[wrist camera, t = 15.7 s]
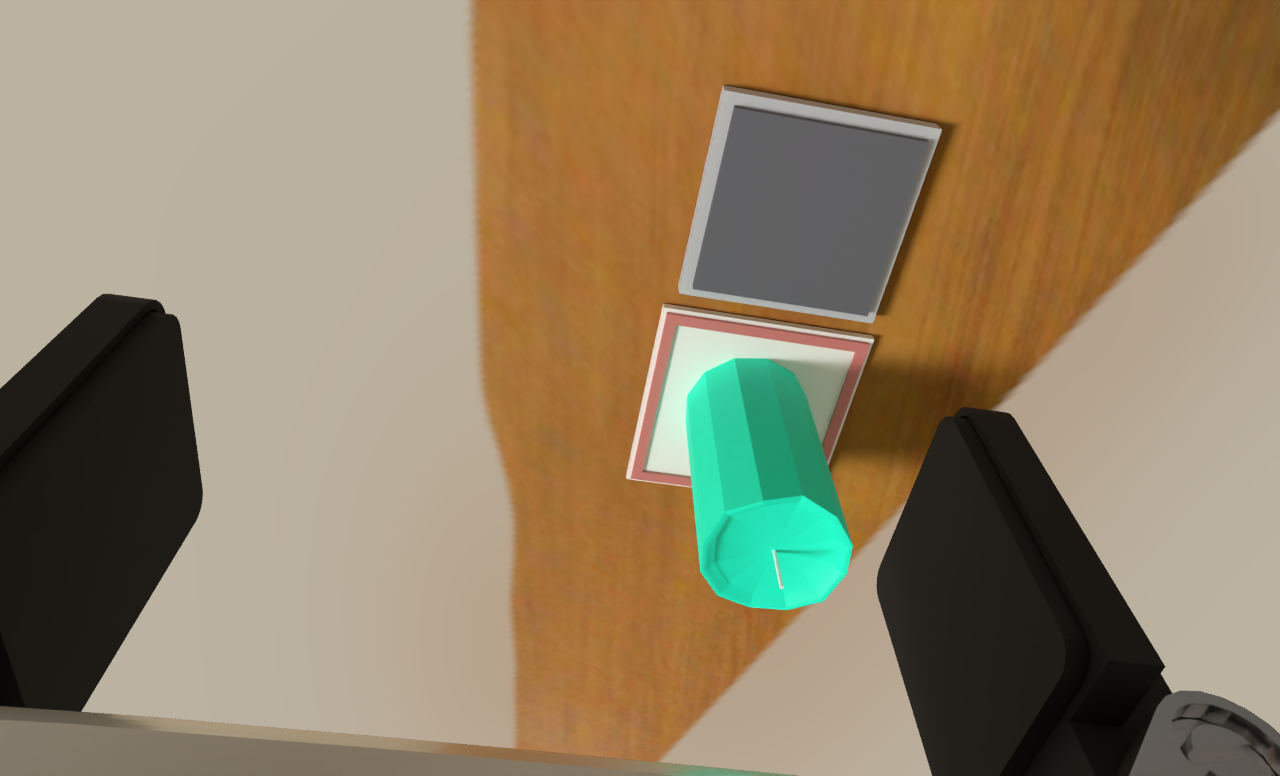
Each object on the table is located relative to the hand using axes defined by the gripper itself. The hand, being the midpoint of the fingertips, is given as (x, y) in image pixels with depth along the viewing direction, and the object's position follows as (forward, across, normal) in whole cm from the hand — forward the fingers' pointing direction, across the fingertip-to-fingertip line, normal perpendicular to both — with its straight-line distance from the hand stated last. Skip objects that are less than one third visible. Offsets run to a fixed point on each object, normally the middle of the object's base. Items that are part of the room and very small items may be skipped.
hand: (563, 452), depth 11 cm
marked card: (+28, -9, +17) cm, 34 cm away
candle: (+28, -9, +17) cm, 34 cm away
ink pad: (+28, -9, +7) cm, 30 cm away
